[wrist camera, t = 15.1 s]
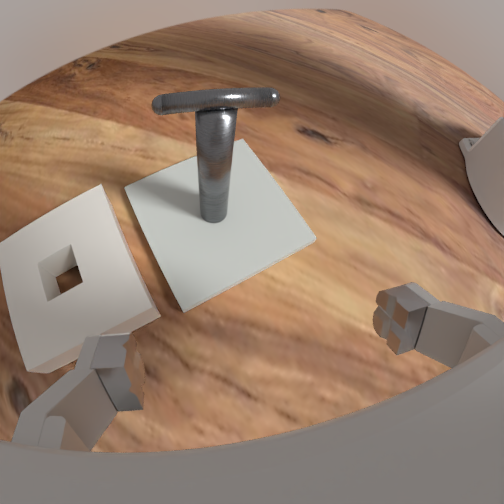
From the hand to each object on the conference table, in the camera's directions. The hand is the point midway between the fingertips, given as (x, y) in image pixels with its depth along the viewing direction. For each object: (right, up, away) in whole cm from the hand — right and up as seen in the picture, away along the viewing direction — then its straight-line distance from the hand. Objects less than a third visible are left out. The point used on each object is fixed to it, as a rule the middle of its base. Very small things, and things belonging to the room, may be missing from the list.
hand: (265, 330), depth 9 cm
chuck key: (-3, +5, +13) cm, 14 cm away
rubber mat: (-3, +5, +14) cm, 15 cm away
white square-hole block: (-13, 0, +10) cm, 17 cm away
